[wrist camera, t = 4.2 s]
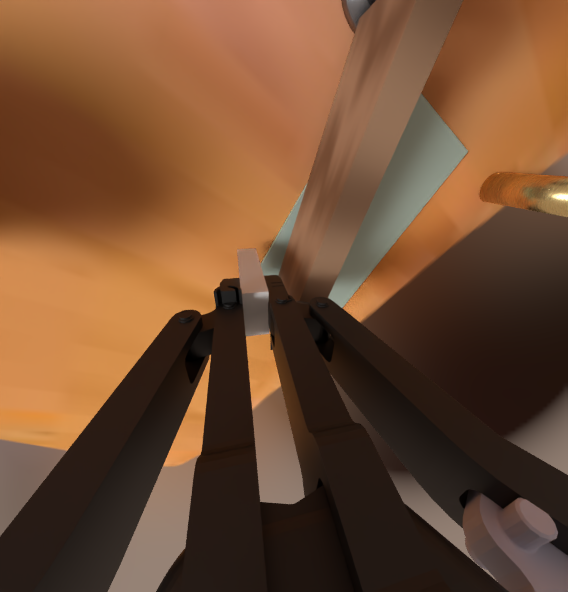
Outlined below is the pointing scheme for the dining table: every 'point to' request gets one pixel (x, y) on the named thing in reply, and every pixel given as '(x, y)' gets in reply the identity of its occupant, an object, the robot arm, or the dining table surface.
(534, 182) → the post
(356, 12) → the hinge post
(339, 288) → the mat
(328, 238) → the gate
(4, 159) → the dining table surface
